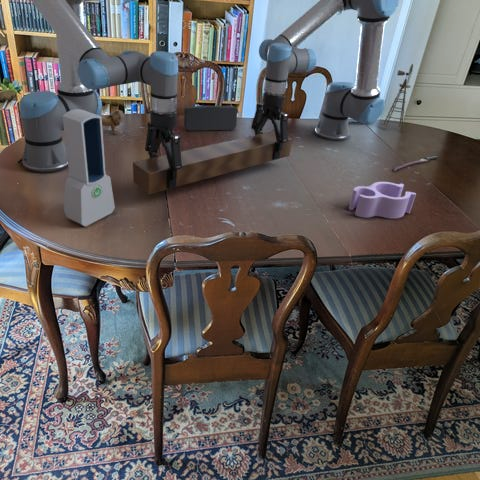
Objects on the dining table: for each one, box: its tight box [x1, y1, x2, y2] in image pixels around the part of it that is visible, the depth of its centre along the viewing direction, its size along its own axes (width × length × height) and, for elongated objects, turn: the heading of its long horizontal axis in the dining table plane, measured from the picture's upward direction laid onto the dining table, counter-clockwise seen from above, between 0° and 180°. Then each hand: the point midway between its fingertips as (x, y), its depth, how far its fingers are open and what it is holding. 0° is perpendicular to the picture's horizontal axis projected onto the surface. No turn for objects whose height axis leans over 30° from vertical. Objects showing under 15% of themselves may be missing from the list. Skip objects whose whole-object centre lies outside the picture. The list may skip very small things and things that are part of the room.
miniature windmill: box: [383, 63, 414, 132], centre depth 220 cm, size 9×8×30 cm
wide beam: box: [132, 130, 293, 195], centre depth 157 cm, size 60×9×7 cm, turn 131°
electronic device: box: [63, 109, 116, 227], centre depth 126 cm, size 12×8×30 cm, turn 148°
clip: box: [348, 181, 417, 220], centre depth 152 cm, size 20×12×7 cm, turn 109°
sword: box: [393, 155, 441, 172], centre depth 190 cm, size 31×3×1 cm, turn 126°
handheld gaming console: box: [183, 105, 239, 132], centre depth 200 cm, size 23×3×10 cm, turn 108°
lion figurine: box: [102, 109, 125, 135], centre depth 186 cm, size 15×5×9 cm, turn 110°
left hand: (162, 180), depth 145 cm, fingers closed on wide beam, 9 cm apart
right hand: (266, 154), depth 172 cm, fingers closed on wide beam, 9 cm apart
